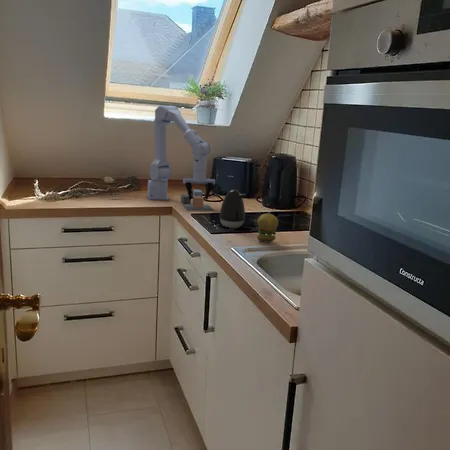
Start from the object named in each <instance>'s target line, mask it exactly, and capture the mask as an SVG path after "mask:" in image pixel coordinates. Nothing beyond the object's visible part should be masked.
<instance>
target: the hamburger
mask: <svg viewBox="0 0 450 450" xmlns="http://www.w3.org/2000/svg"><path fill="white" fill-rule="evenodd" d="M256 221H257V225H258V226H259V227H257V229H258V231H257V233H258V235H256V238H257V240H258V241H259V242H263V241H267V242H266V243H268V241H270V242H274V241H275V240H276V238H277V237H276V235H277V233H276V232H277V227H278V226H279V220H278V218H277V217H276V216H275V215H274V214H272V213H271V212H270V211H269V212H266V213H263V214H261V215H260V216H258V218H257V220H256Z"/></svg>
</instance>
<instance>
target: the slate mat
mask: <svg viewBox="0 0 450 450" xmlns="http://www.w3.org/2000/svg"><path fill="white" fill-rule="evenodd" d="M182 205H183V207H184V208H185V210H186V209H187V210H186V211H214V208H213V207H212V206H211V205H210V204H207V203H206V204H205V203H203V208H195V207H194V206H193V205H192V203H191V204H182Z"/></svg>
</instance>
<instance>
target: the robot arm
mask: <svg viewBox="0 0 450 450" xmlns="http://www.w3.org/2000/svg"><path fill="white" fill-rule="evenodd" d="M171 122H173V123H175V125H176V126H177V127H178V129H180V131H182V133H183V136H184V137H183V138H184V139H185V140H186V142H187V143H188V144H189V145H190V147H191V152H192V154H193V173H192V178H190V177H187V178H183V179H182V183H183V184H184V185H185V188H186V190H187V194H188V196H189V199H190V200H191V201H192V192H193V190H192V188H193V185H192V184H201V185H203V184H204V185H205V193H204V194H205V195H204V199H205V200H206V201H207V200H208V199H209V196H210V193H211V191H212V189H213V187H214V185H216V179H215V178H214V179H213V178H207V168H208V167H207V164H208V155H209V154H210V152H211V146H210V144H209V143H208V142H207V141H204V139H203V138H201V136H199V134H198V131H197V130H195V129H191V128H190V126H189V124H188V123H187V122H186V120H185V119H184V117H183V115H182V113H181V110H180V109H179V108H178V107H177V106H176V105H162V104H160V105H158V107H157V108H155V109H154V120H153V134H154V136H153V137H154V160H153V161H152V162H151V163H150V169H149V177H150V178H151V179H148V180H147V193H146V196H147V198H148V200H154V201H155V200H159V201H161V200H162V201H163V200H165V201H166V200H167V201H168V200H169V199H170V198H169V197H168V187H169V186H168V184H169V180H170V178H171V176H172V172H173V171H172V169H171V163H170V161H168V160H167V126H168V125H169V124H170V123H171Z"/></svg>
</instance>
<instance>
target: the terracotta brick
mask: <svg viewBox="0 0 450 450" xmlns="http://www.w3.org/2000/svg"><path fill="white" fill-rule="evenodd" d="M191 204H192V205H193V206H194V207H195V208H203V204H204V198H203V196H202V197H201V196H193V195H192V202H191Z"/></svg>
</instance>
